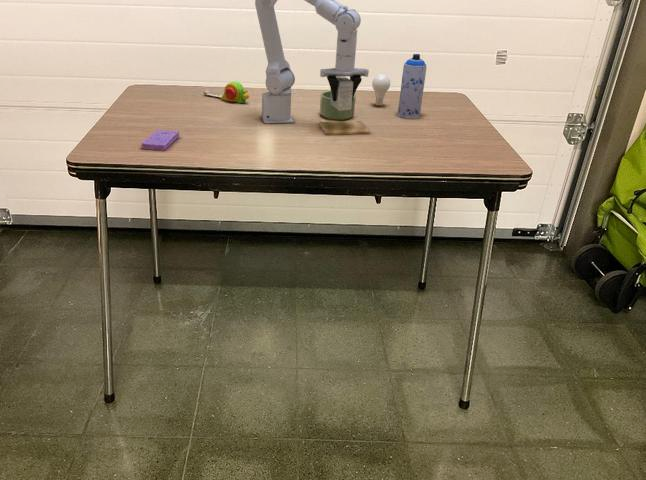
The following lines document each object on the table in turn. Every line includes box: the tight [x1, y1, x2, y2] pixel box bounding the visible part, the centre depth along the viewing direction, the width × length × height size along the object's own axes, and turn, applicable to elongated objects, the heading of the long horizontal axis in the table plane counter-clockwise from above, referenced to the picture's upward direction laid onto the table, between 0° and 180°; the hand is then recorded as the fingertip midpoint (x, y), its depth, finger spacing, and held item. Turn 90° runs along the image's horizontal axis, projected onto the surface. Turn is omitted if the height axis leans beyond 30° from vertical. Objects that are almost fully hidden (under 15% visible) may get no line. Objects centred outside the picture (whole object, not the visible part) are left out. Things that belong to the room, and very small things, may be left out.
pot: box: [319, 90, 357, 121], centre depth 204 cm, size 11×11×7 cm
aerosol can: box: [396, 53, 427, 120], centre depth 203 cm, size 8×8×20 cm
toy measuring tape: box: [203, 80, 250, 104], centre depth 218 cm, size 6×19×7 cm, turn 57°
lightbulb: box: [371, 73, 391, 107], centre depth 215 cm, size 6×6×11 cm
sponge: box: [141, 129, 180, 151], centre depth 177 cm, size 7×13×2 cm, turn 170°
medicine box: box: [330, 76, 353, 110], centre depth 188 cm, size 8×4×9 cm, turn 15°
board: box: [318, 120, 371, 136], centre depth 193 cm, size 14×11×1 cm
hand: (342, 100), depth 188 cm, fingers closed on medicine box, 5 cm apart
